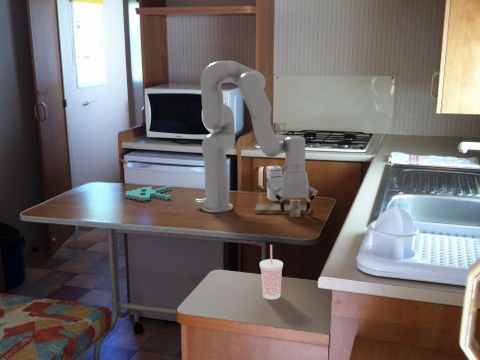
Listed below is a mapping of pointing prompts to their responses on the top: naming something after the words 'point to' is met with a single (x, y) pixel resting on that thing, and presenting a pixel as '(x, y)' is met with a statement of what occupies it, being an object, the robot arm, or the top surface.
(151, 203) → the top surface
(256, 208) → the board
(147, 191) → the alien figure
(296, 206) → the wooden mallet
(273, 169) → the syrup box
